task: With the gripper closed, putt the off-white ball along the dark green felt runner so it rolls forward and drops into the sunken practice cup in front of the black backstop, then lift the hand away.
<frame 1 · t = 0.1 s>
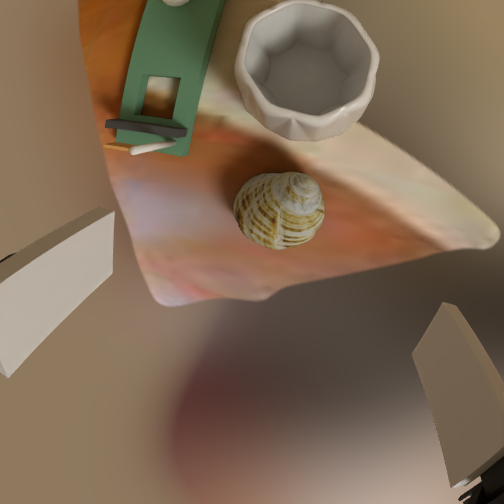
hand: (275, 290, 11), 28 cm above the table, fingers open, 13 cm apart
green: (174, 47, 31), on the table
vase: (304, 83, 32), on the table
seashell: (281, 200, 38), on the table
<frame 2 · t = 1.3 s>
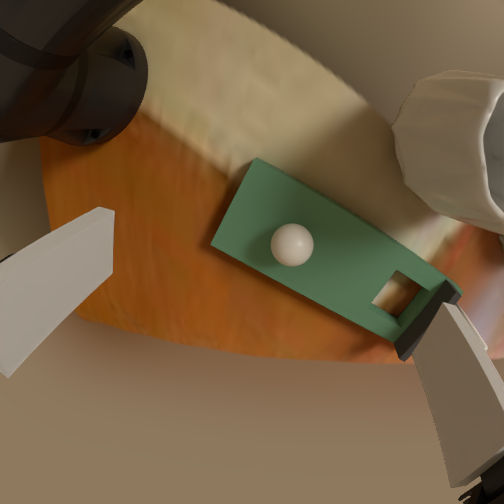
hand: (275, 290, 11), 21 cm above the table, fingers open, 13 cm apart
green: (348, 263, 32), on the table
ball: (292, 237, 30), point 2 cm above the table, touching green
vase: (442, 143, 26), on the table
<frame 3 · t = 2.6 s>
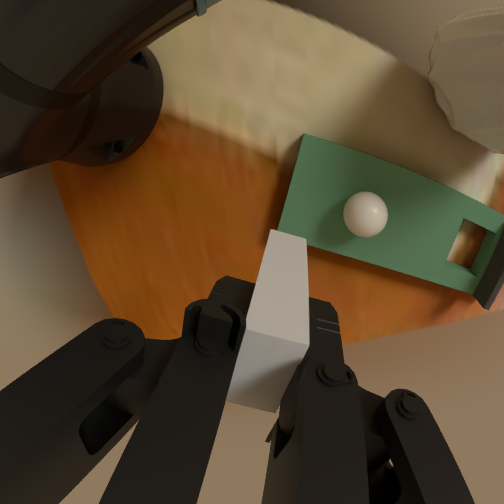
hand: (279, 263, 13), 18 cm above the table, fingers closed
green: (416, 223, 29), on the table
ball: (361, 208, 27), point 2 cm above the table, touching green
vase: (471, 84, 22), on the table
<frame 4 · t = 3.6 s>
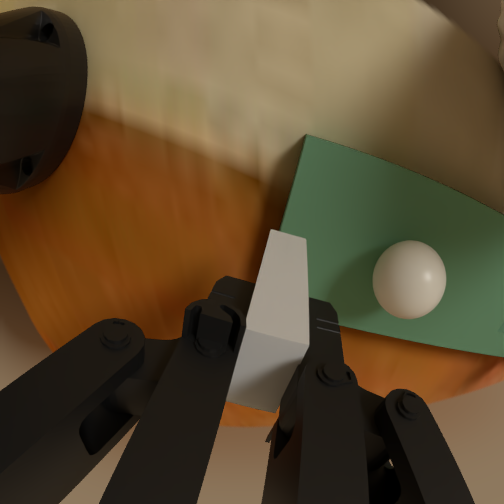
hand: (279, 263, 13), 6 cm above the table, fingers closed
green: (469, 275, 17), on the table
ball: (399, 262, 16), point 2 cm above the table, touching green
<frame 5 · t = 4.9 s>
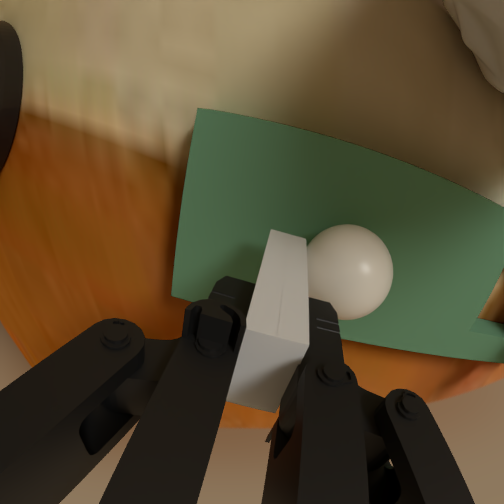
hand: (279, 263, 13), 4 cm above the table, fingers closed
green: (428, 263, 16), on the table
ball: (325, 249, 14), point 2 cm above the table, tilted 24°, touching green
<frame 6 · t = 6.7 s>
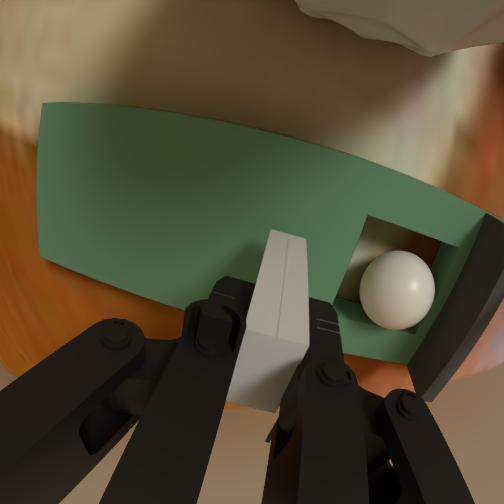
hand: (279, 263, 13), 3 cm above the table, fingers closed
green: (265, 229, 16), on the table
ball: (362, 275, 15), point 1 cm above the table, tilted 73°
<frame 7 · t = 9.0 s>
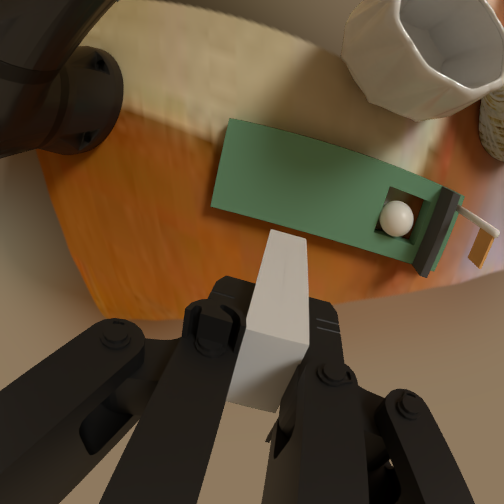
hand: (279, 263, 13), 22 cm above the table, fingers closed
green: (343, 193, 33), on the table
ball: (382, 211, 32), point 1 cm above the table, tilted 46°
vase: (396, 62, 26), on the table
seashell: (495, 116, 26), on the table
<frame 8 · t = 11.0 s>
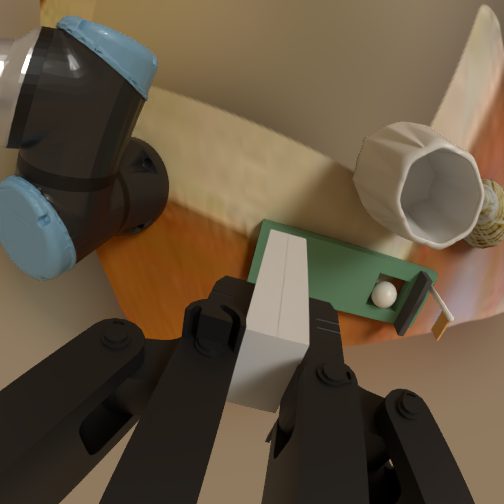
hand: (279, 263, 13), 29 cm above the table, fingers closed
green: (345, 275, 45), on the table
ball: (373, 287, 44), point 1 cm above the table, tilted 49°
vase: (396, 171, 38), on the table
seashell: (474, 208, 37), on the table
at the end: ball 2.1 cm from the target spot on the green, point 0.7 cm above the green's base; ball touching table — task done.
